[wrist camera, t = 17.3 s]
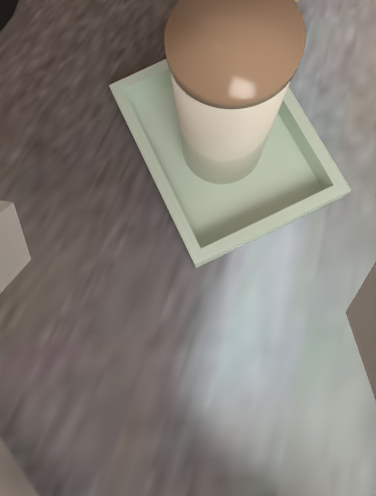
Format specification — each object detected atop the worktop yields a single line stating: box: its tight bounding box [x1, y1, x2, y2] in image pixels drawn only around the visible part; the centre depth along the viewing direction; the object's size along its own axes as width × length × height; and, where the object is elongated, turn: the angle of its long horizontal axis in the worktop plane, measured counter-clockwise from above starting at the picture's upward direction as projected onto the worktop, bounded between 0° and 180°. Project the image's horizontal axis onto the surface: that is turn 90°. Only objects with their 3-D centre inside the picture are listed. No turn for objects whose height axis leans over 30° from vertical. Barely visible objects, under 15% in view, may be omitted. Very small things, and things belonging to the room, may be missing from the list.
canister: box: [164, 0, 306, 184], centre depth 22 cm, size 7×7×12 cm
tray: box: [109, 59, 351, 268], centre depth 27 cm, size 18×14×2 cm
